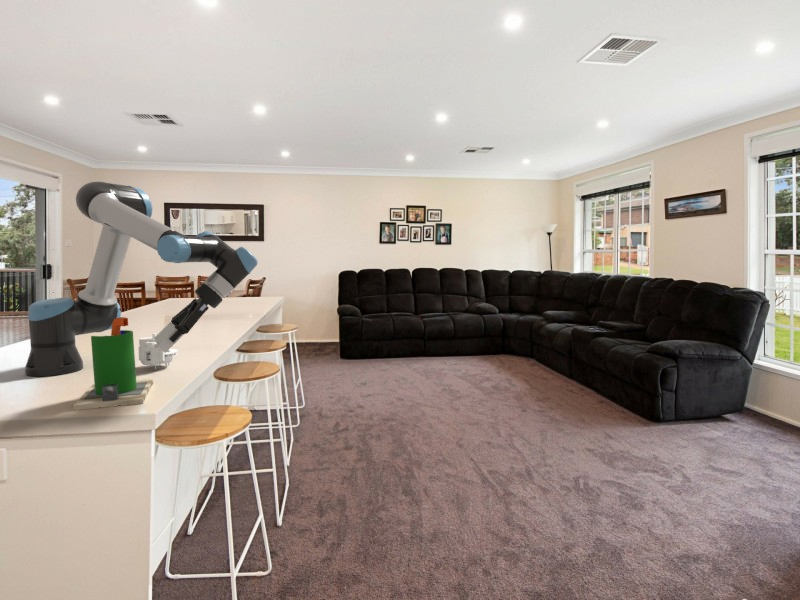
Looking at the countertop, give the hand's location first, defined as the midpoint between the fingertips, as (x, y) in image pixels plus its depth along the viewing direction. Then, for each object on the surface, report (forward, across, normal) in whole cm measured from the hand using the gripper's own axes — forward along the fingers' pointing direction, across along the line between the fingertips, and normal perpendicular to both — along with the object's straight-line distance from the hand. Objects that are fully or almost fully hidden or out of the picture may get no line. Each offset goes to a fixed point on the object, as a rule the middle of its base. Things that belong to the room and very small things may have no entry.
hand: (159, 345), depth 130 cm
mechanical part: (+8, +29, -10) cm, 32 cm away
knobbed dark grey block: (+17, -8, 0) cm, 18 cm away
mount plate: (+16, 0, -2) cm, 16 cm away
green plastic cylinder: (+16, 0, -1) cm, 16 cm away
